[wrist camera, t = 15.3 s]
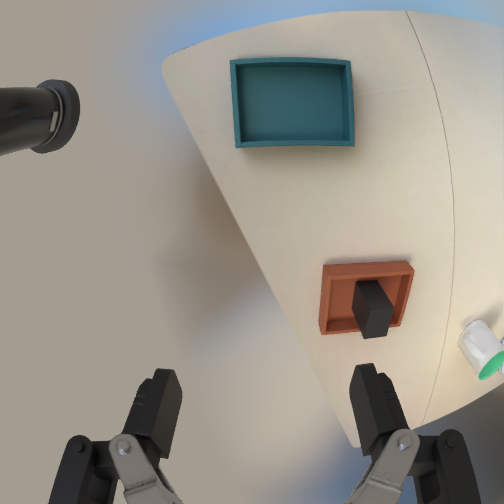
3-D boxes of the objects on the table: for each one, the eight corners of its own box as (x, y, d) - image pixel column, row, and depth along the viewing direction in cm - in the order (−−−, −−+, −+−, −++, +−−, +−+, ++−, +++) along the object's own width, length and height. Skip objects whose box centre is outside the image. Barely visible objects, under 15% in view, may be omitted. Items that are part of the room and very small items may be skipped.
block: (351, 308, 40) (363, 339, 34) (355, 281, 38) (370, 309, 32) (371, 306, 40) (386, 336, 34) (377, 279, 38) (394, 307, 32)
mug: (442, 342, 45) (463, 377, 35) (465, 311, 41) (491, 345, 32) (468, 350, 46) (487, 380, 37) (489, 323, 43) (511, 352, 34)
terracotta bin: (318, 322, 42) (321, 335, 39) (323, 264, 38) (327, 276, 35) (393, 314, 42) (399, 326, 39) (405, 260, 37) (414, 270, 34)
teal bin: (237, 146, 32) (235, 148, 29) (232, 65, 27) (229, 60, 24) (346, 144, 31) (354, 146, 28) (343, 65, 26) (350, 60, 24)
